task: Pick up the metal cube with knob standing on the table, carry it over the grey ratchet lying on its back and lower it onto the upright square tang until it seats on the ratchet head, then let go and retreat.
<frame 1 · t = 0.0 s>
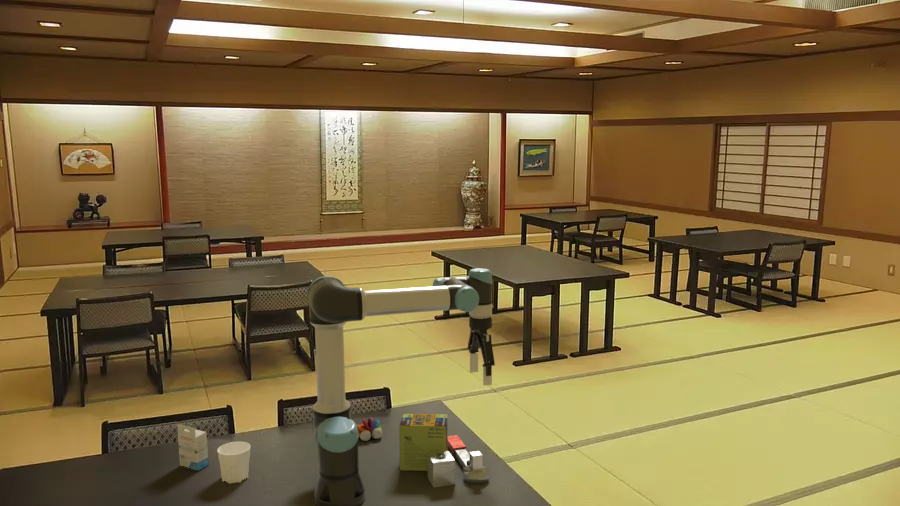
hand: (480, 378, 228), 28 cm above the table, fingers open, 13 cm apart
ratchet: (475, 478, 217), on the table
cup: (235, 478, 219), on the table
ink box: (194, 466, 227), on the table
metal cube with knob: (441, 480, 216), on the table
protein box: (424, 464, 228), on the table
rainbow finned toy: (369, 437, 250), on the table
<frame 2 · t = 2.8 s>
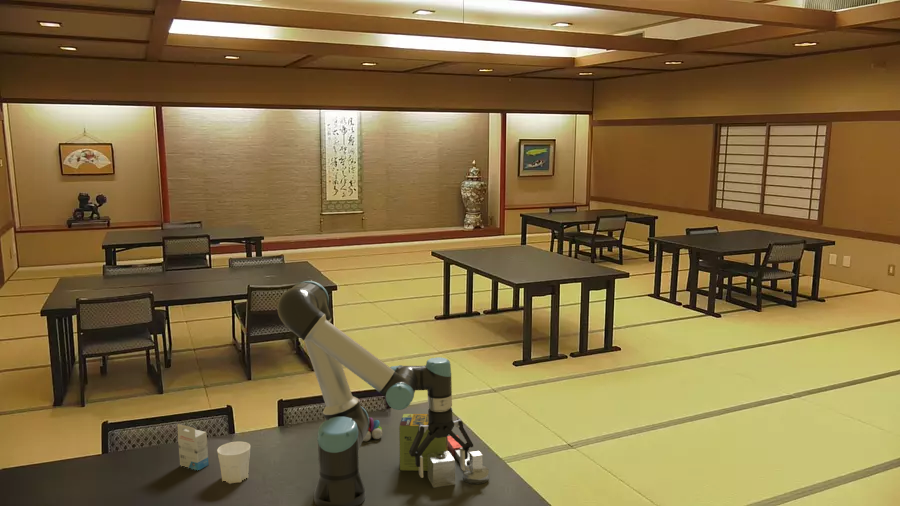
hand: (442, 472, 216), 3 cm above the table, fingers open, 13 cm apart
nothing on the table moved.
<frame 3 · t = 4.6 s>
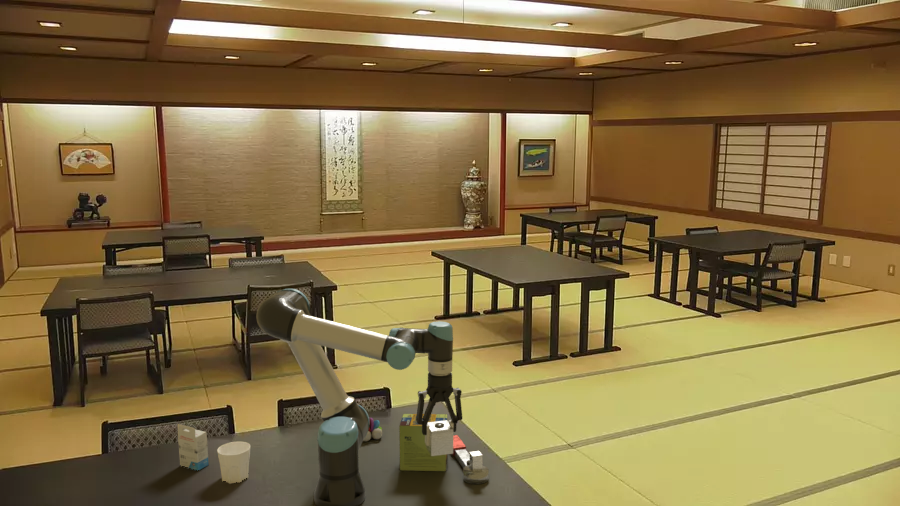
hand: (438, 442, 214), 12 cm above the table, fingers closed on metal cube with knob, 7 cm apart
metal cube with knob: (439, 450, 214), point 10 cm above the table, touching gripper
everything else where it was.
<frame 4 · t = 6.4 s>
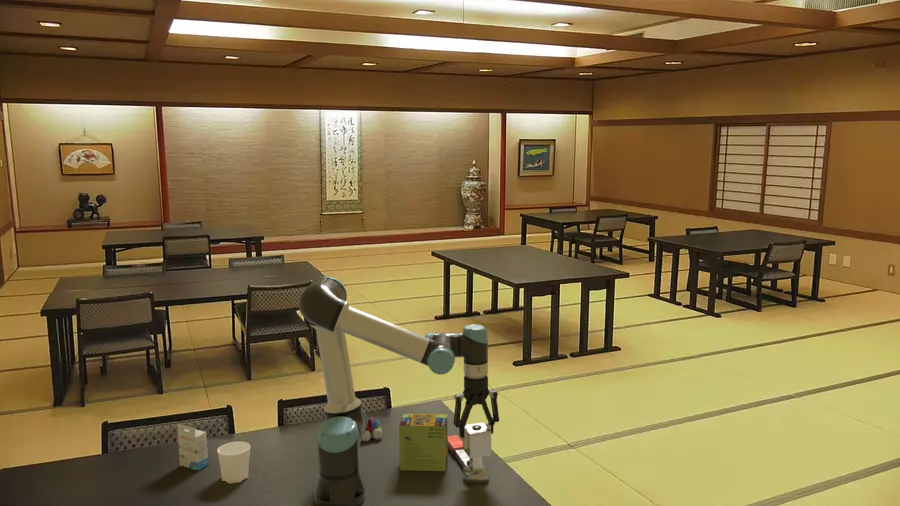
hand: (476, 445, 216), 11 cm above the table, fingers closed on metal cube with knob, 7 cm apart
metal cube with knob: (477, 452, 216), point 9 cm above the table, touching gripper
everything else where it was.
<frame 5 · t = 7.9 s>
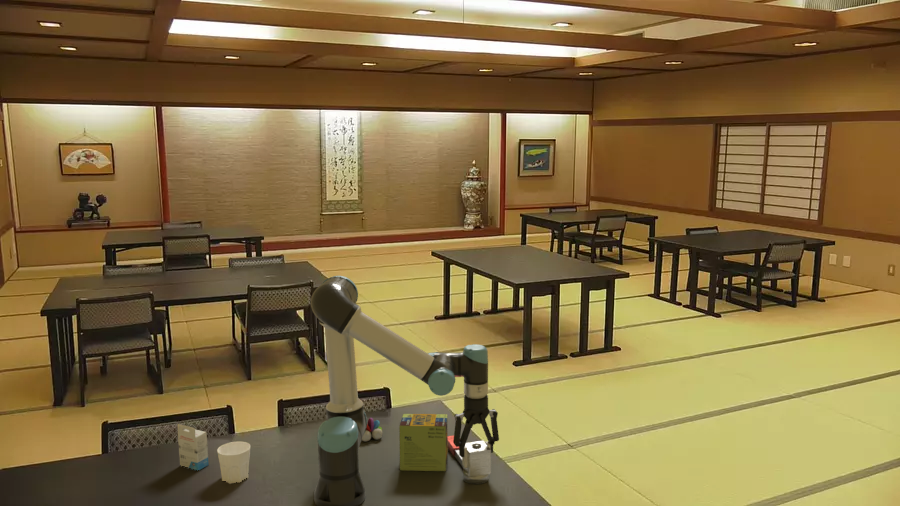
hand: (476, 464, 217), 5 cm above the table, fingers closed on metal cube with knob, 7 cm apart
metal cube with knob: (476, 470, 217), point 3 cm above the table, touching gripper, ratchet
everything else where it was.
when the fingers open (5 cm above the table, at t = 8.7 s): metal cube with knob stays where it is, resting on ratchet.
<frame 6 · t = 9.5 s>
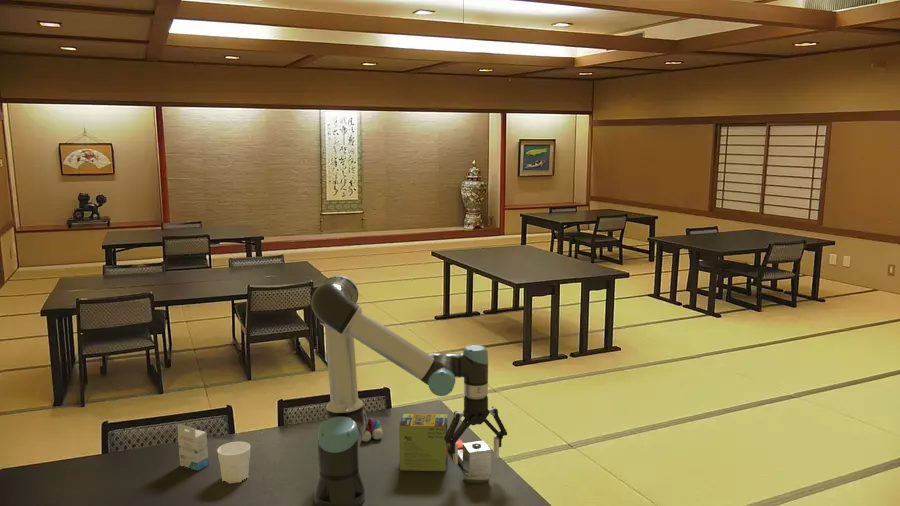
hand: (475, 459, 217), 6 cm above the table, fingers open, 13 cm apart
metal cube with knob: (476, 470, 217), point 3 cm above the table, touching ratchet
everything else where it was.
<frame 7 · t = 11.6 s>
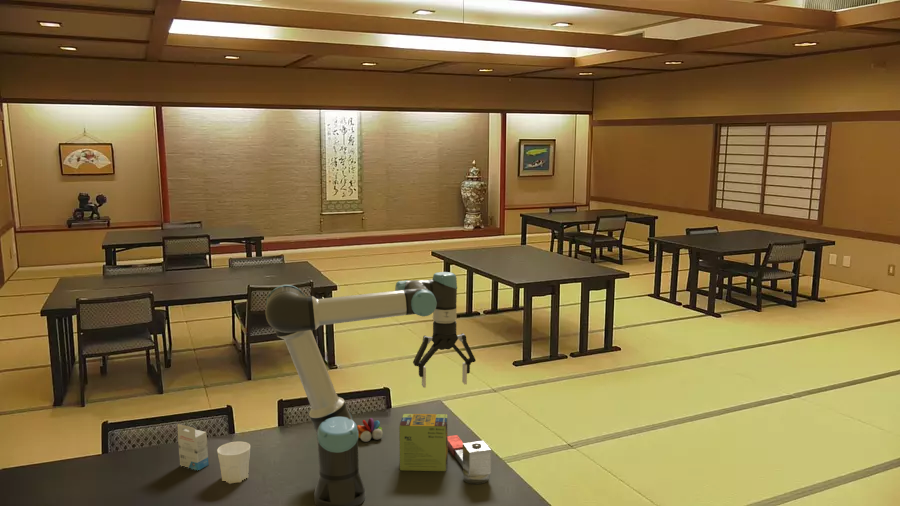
hand: (444, 384, 222), 28 cm above the table, fingers open, 13 cm apart
nothing on the table moved.
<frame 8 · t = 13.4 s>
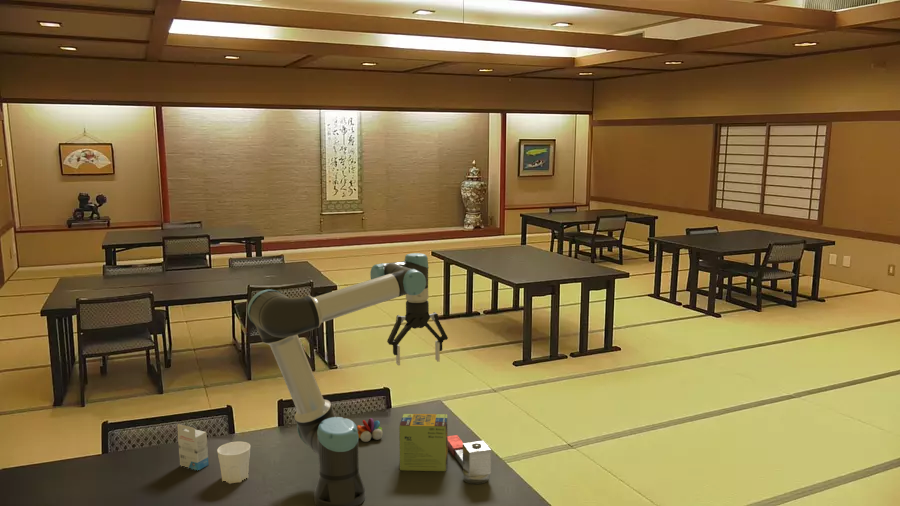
hand: (418, 362, 230), 33 cm above the table, fingers open, 13 cm apart
nothing on the table moved.
at the end: metal cube with knob 0.3 cm off-centre on the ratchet, point 2.8 cm above the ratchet's base; metal cube with knob tilted 0°; the gripper is holding nothing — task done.
